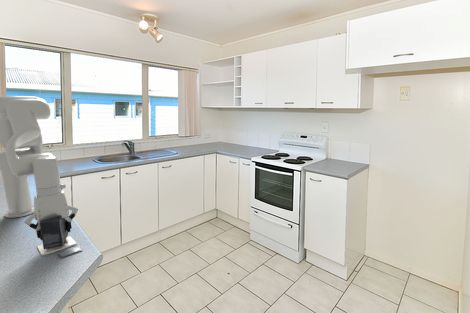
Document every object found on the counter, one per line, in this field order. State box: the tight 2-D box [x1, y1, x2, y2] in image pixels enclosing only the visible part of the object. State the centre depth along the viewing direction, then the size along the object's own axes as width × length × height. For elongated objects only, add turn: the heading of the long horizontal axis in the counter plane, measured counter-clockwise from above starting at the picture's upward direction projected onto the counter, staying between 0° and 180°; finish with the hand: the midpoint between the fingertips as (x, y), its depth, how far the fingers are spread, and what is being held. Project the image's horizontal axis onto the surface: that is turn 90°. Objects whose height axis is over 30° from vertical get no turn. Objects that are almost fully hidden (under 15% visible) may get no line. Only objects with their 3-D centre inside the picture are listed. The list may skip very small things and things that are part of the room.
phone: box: [57, 246, 83, 260], centre depth 99 cm, size 4×7×1 cm, turn 138°
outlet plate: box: [37, 236, 77, 256], centre depth 104 cm, size 8×11×1 cm
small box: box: [40, 216, 69, 249], centre depth 103 cm, size 11×6×10 cm, turn 22°
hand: (55, 234), depth 103 cm, fingers closed on small box, 8 cm apart
